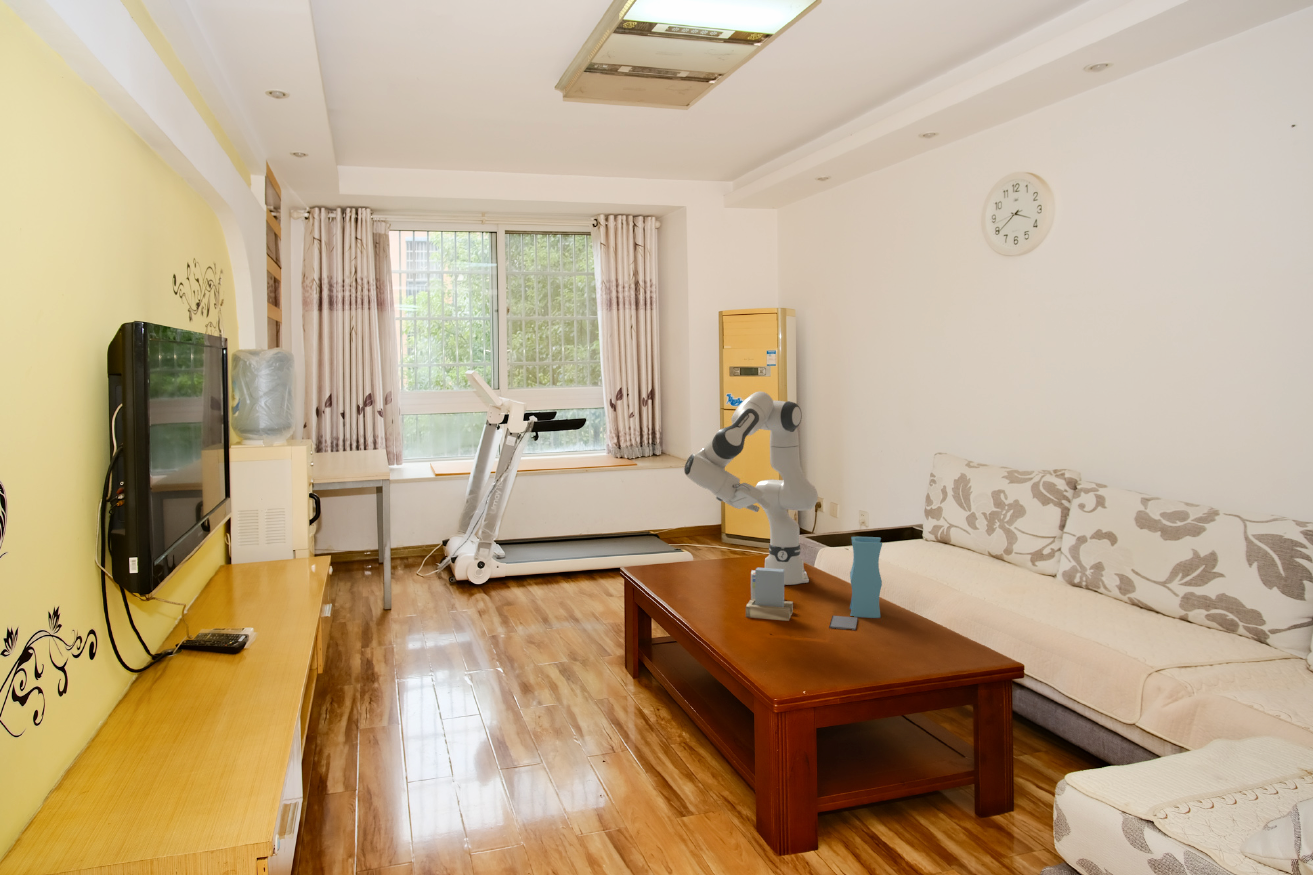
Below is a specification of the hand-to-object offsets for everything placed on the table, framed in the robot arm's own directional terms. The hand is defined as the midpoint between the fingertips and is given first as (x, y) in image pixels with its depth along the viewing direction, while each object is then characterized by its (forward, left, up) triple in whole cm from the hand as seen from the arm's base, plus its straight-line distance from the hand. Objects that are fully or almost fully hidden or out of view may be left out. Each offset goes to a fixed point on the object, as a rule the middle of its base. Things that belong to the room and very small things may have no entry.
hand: (763, 508), depth 281 cm
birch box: (+6, +3, -35) cm, 36 cm away
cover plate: (+6, +3, -34) cm, 35 cm away
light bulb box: (-12, -1, -35) cm, 38 cm away
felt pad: (+6, +25, -35) cm, 44 cm away
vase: (-8, +33, -35) cm, 49 cm away
